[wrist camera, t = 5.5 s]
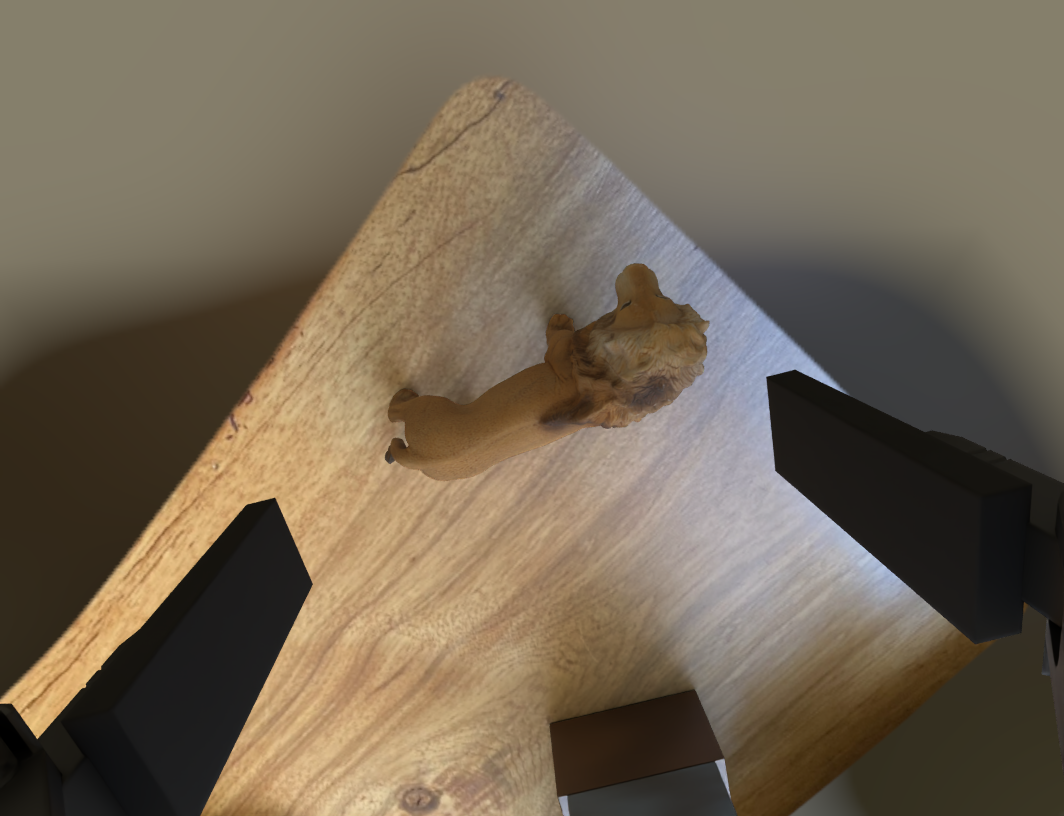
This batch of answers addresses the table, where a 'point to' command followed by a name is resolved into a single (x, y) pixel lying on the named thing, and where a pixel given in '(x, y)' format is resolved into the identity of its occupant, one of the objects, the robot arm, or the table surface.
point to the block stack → (641, 761)
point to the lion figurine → (562, 386)
